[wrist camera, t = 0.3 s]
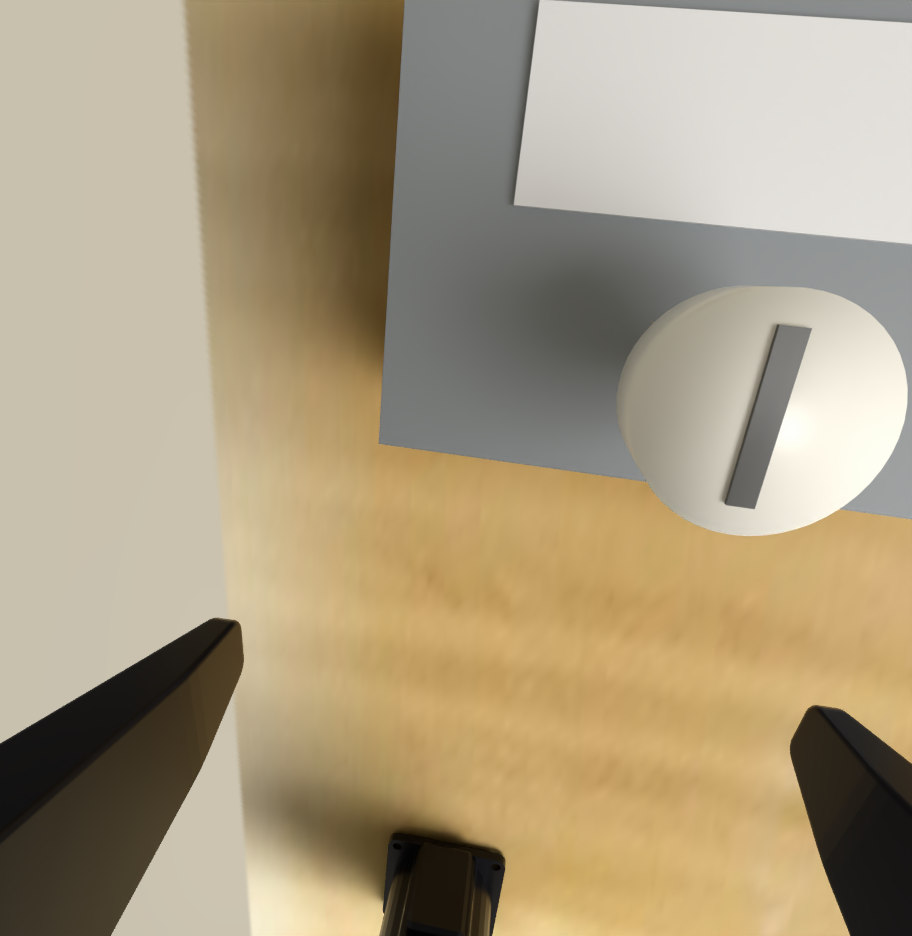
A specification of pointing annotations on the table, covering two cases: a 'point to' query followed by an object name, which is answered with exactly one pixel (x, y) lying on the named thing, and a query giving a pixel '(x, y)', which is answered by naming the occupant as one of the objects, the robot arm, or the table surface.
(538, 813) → the table surface
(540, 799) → the table surface
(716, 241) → the console
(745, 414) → the knob
